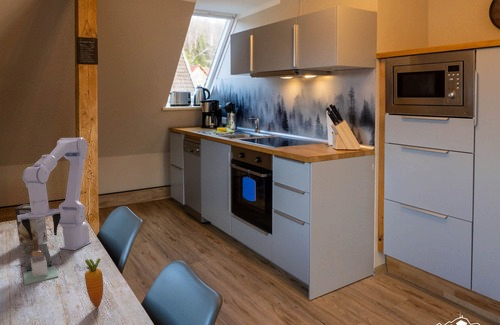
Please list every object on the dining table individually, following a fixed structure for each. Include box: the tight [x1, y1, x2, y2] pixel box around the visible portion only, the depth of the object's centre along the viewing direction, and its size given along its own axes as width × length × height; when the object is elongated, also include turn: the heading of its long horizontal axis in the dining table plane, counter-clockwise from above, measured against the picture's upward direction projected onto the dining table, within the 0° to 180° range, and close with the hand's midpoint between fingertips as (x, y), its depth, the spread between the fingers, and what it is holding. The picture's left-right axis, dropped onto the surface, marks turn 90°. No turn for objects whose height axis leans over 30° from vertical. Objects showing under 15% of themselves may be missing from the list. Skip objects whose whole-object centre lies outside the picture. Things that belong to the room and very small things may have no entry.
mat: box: [22, 265, 59, 286], centre depth 140 cm, size 10×10×1 cm
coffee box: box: [14, 203, 49, 247], centre depth 171 cm, size 9×6×16 cm
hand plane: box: [23, 236, 53, 272], centre depth 154 cm, size 20×8×6 cm, turn 30°
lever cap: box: [31, 254, 48, 279], centre depth 140 cm, size 6×4×6 cm
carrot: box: [84, 257, 104, 309], centre depth 116 cm, size 5×5×15 cm
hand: (43, 236), depth 148 cm, fingers open, 7 cm apart
